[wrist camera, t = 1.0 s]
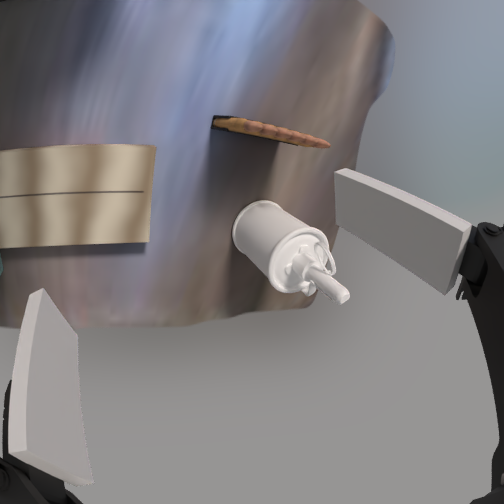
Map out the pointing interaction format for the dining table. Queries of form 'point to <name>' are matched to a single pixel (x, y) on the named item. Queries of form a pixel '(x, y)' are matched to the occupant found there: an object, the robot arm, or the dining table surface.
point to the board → (75, 194)
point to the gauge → (0, 266)
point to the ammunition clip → (266, 131)
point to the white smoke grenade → (287, 251)
